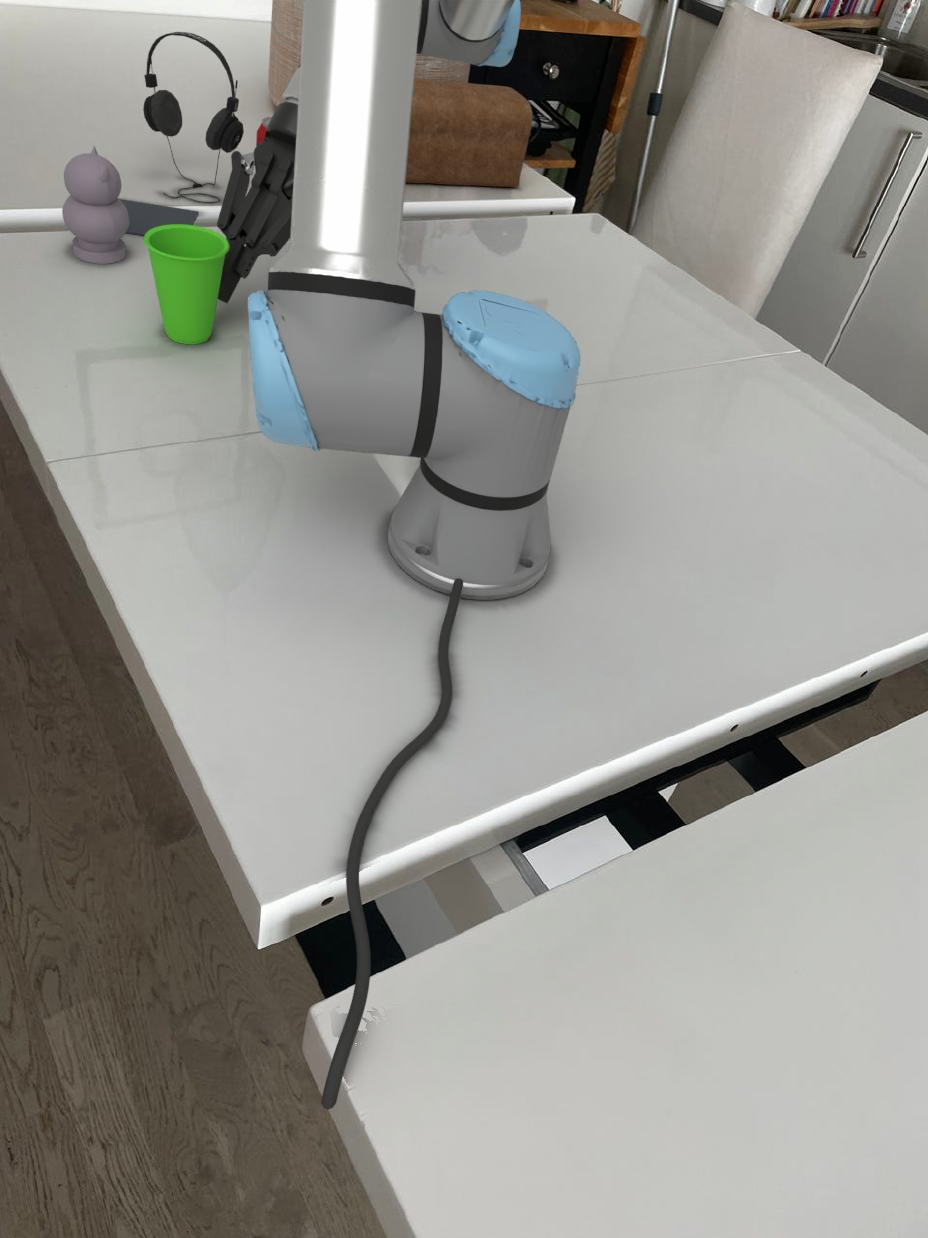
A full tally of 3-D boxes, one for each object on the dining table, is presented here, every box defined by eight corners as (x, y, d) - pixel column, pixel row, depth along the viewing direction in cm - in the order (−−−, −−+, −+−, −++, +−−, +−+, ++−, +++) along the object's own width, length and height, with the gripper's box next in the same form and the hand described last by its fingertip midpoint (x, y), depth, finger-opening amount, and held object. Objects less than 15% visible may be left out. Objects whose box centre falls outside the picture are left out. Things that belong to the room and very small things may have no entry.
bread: (521, 190, 172) (539, 102, 163) (333, 181, 160) (341, 85, 150) (491, 161, 182) (506, 76, 172) (311, 150, 169) (317, 59, 159)
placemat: (185, 241, 133) (185, 240, 133) (100, 229, 131) (100, 227, 131) (198, 212, 141) (198, 211, 141) (119, 200, 139) (119, 198, 139)
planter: (468, 113, 203) (498, -75, 181) (448, 167, 175) (481, -48, 154) (293, 75, 201) (303, -119, 180) (244, 123, 174) (249, -100, 152)
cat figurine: (59, 239, 127) (49, 141, 119) (122, 238, 130) (116, 142, 122) (73, 268, 121) (64, 167, 114) (138, 265, 125) (133, 168, 117)
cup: (139, 318, 115) (134, 224, 108) (216, 314, 119) (216, 223, 112) (158, 355, 109) (154, 259, 102) (238, 350, 113) (240, 256, 106)
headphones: (119, 181, 144) (110, 27, 131) (161, 163, 153) (156, 16, 140) (211, 210, 142) (211, 56, 129) (248, 189, 151) (252, 43, 138)
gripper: (364, 156, 119) (275, 329, 118) (275, 124, 122) (188, 291, 121) (344, 117, 111) (248, 300, 111) (250, 83, 115) (156, 261, 114)
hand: (217, 295), depth 116 cm, fingers closed
